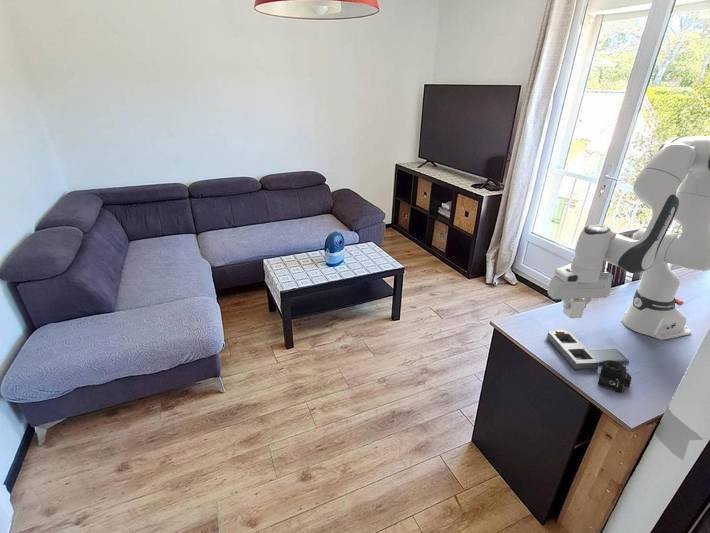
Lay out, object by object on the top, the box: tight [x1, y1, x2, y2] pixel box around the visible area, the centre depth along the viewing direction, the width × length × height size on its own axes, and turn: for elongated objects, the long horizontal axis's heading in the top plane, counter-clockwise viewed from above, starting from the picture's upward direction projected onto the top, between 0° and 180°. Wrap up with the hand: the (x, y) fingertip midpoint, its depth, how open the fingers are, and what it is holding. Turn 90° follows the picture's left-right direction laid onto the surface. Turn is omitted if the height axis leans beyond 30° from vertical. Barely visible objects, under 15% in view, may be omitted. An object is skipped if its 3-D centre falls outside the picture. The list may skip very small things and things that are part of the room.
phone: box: [587, 348, 630, 366], centre depth 128 cm, size 13×6×1 cm, turn 93°
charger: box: [562, 298, 586, 319], centre depth 128 cm, size 4×4×7 cm
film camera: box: [597, 360, 632, 393], centre depth 118 cm, size 13×8×10 cm
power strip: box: [546, 329, 601, 371], centre depth 131 cm, size 8×18×4 cm, turn 3°
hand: (573, 307), depth 128 cm, fingers closed on charger, 4 cm apart
